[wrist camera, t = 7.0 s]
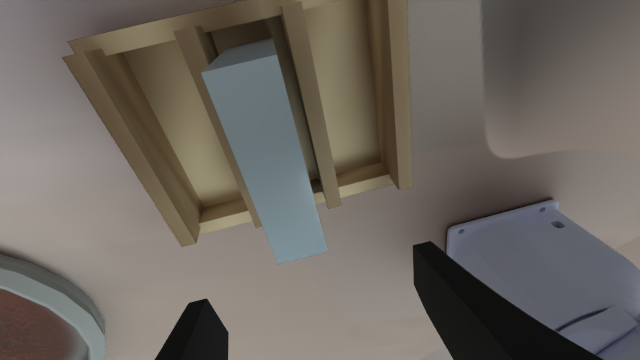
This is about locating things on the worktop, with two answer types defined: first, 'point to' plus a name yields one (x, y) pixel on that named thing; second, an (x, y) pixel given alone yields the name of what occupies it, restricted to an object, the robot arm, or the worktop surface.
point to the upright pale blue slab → (266, 146)
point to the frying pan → (46, 316)
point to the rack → (302, 89)
